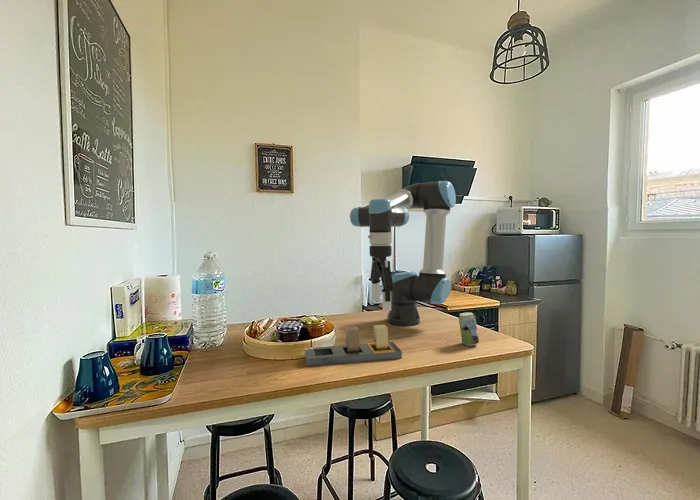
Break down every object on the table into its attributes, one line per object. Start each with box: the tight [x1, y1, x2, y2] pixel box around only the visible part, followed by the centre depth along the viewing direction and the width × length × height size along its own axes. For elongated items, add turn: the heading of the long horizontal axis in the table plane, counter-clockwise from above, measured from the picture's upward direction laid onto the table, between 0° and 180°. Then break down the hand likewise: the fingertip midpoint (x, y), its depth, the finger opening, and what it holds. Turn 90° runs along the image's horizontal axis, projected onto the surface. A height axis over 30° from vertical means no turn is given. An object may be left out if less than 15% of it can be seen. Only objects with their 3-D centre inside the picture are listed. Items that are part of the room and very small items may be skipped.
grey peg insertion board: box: [304, 341, 403, 367], centre depth 120 cm, size 10×32×3 cm, turn 101°
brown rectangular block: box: [345, 326, 360, 353], centre depth 119 cm, size 4×4×10 cm
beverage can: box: [458, 312, 480, 347], centre depth 131 cm, size 6×7×12 cm
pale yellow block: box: [373, 324, 389, 351], centre depth 121 cm, size 4×4×10 cm
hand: (381, 305), depth 121 cm, fingers open, 13 cm apart
